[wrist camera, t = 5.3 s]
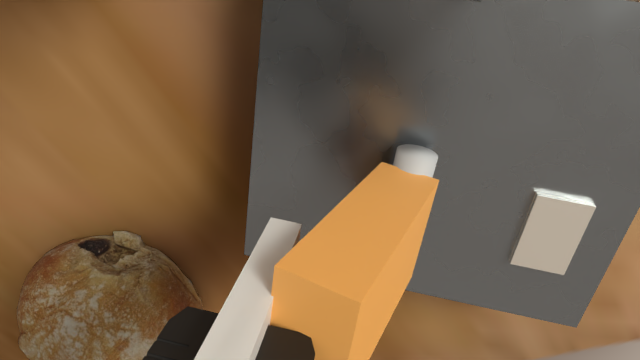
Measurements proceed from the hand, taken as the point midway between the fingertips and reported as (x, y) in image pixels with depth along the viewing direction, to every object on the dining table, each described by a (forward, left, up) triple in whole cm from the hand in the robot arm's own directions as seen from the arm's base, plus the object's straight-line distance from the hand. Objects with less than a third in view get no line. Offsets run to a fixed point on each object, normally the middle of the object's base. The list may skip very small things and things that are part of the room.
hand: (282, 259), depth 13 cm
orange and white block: (+4, 0, -4) cm, 5 cm away
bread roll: (-10, -12, -9) cm, 18 cm away
